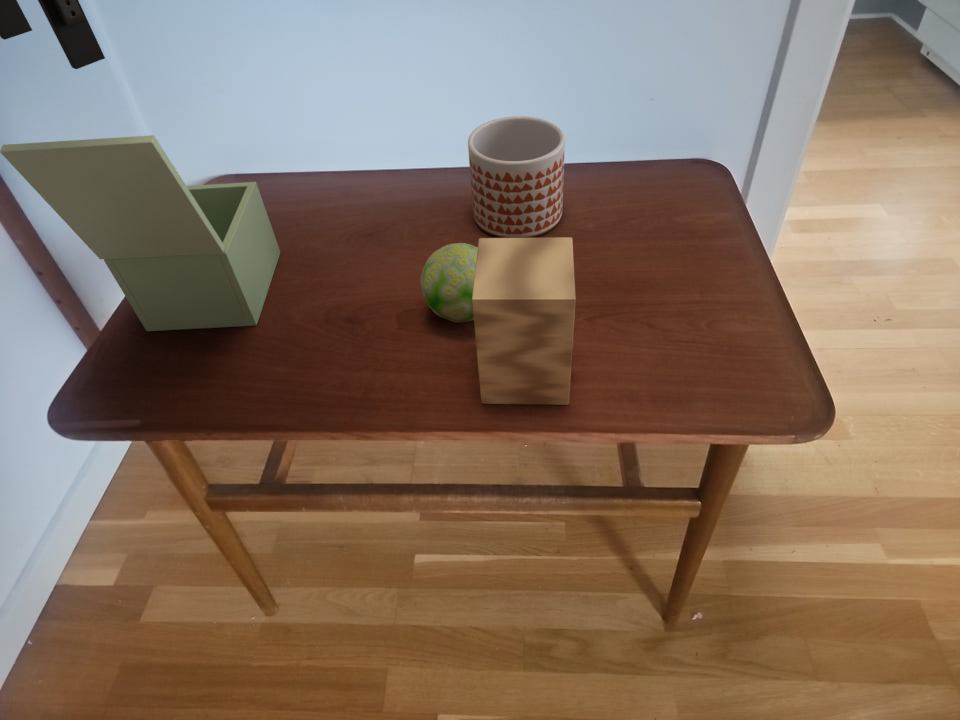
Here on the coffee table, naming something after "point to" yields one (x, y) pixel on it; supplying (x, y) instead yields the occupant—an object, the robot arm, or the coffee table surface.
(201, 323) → the box
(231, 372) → the coffee table surface
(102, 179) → the lid
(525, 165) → the planter
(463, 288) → the decorative ball
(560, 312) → the stand
